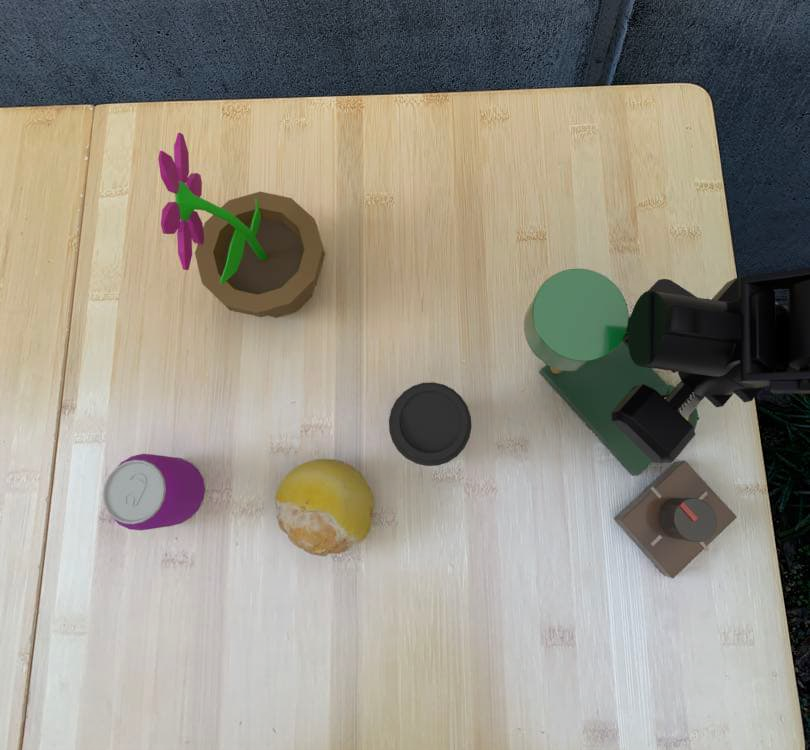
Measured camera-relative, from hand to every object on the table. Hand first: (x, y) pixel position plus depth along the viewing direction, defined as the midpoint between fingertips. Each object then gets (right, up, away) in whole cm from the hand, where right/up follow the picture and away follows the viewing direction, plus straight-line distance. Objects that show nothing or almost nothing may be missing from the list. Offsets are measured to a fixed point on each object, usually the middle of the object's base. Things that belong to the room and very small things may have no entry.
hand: (658, 380), depth 69 cm
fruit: (-34, -15, +10) cm, 39 cm away
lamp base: (-1, -3, +12) cm, 13 cm away
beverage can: (-53, -14, +10) cm, 56 cm away
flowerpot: (-42, +11, +17) cm, 47 cm away
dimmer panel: (+5, -17, +9) cm, 19 cm away
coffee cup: (-23, -7, +12) cm, 27 cm away
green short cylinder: (-11, +6, -8) cm, 15 cm away
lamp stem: (-8, 0, +13) cm, 15 cm away
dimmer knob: (+4, -16, +6) cm, 17 cm away
